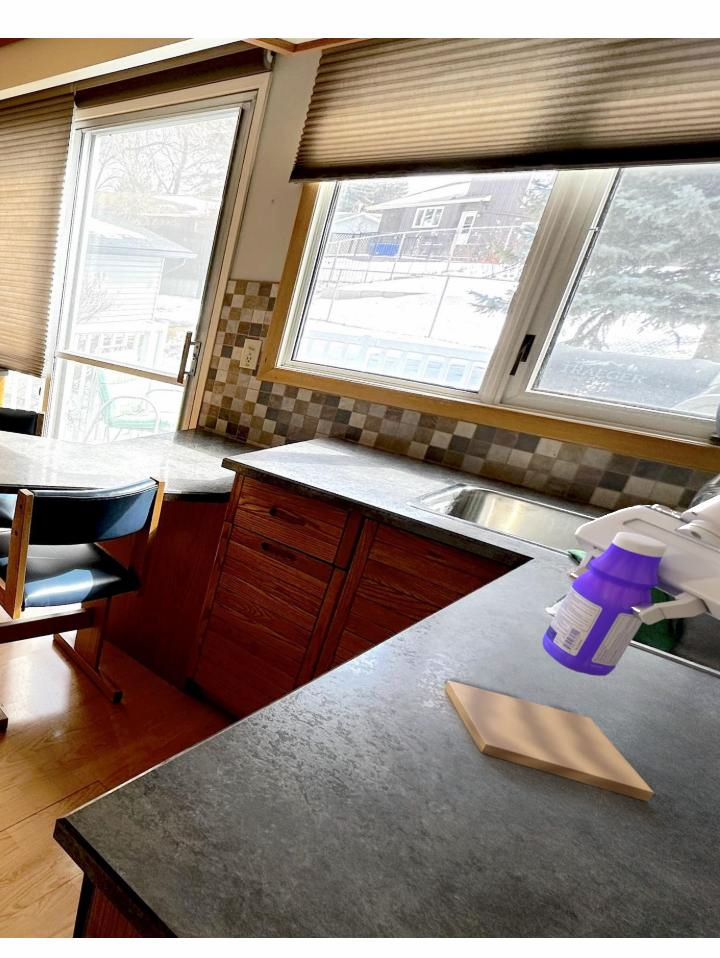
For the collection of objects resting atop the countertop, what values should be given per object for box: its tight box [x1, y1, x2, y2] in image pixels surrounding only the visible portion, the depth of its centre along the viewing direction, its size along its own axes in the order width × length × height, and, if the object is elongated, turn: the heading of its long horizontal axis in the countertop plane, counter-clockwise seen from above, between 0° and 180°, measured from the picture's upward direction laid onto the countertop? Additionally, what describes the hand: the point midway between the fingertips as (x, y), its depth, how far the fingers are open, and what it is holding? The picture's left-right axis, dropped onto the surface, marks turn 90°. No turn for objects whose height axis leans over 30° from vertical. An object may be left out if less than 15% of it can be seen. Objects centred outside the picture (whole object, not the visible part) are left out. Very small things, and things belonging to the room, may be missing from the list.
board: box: [444, 680, 655, 803], centre depth 81 cm, size 16×14×2 cm
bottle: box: [542, 532, 667, 677], centre depth 74 cm, size 7×6×17 cm
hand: (604, 597), depth 74 cm, fingers closed on bottle, 7 cm apart
